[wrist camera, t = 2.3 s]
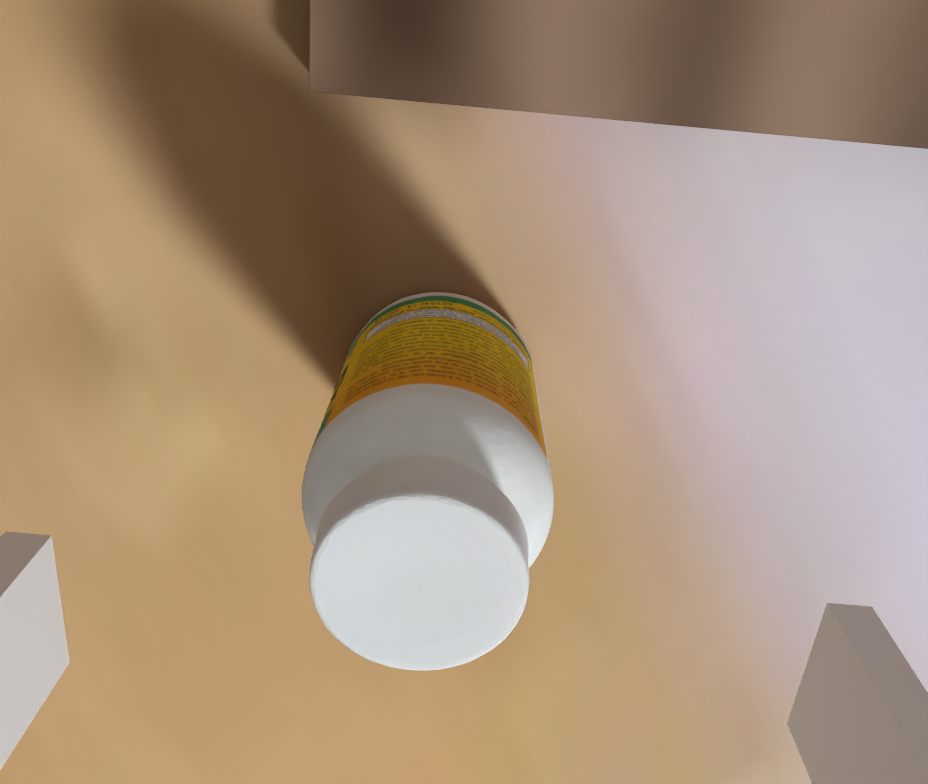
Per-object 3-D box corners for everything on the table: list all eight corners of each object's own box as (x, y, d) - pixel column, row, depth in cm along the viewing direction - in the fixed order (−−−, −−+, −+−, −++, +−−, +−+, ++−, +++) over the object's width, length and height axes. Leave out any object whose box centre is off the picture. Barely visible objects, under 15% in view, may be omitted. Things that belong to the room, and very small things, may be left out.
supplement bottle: (544, 446, 25) (581, 688, 16) (365, 469, 25) (308, 716, 16) (522, 272, 22) (551, 442, 14) (327, 299, 23) (236, 482, 14)
